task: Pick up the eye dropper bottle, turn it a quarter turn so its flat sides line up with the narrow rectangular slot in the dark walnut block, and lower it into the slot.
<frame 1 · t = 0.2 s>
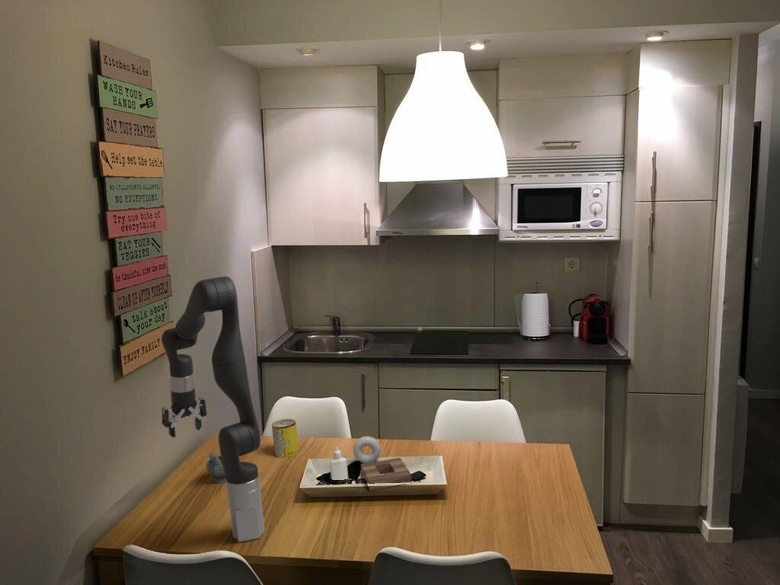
hand: (185, 432, 220), 22 cm above the table, tool pointing down, fingers open, 8 cm apart
beverage can: (287, 453, 255), on the table
donut: (368, 463, 240), on the table
eye dropper bottle: (340, 482, 227), on the table
walnut socket block: (385, 478, 226), on the table
mortar and pestle: (221, 480, 236), on the table
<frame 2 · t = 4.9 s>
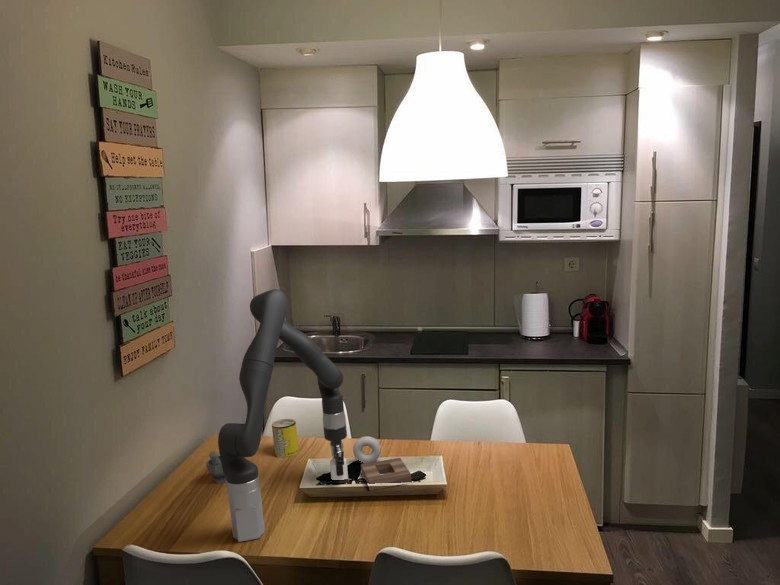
hand: (339, 472, 226), 3 cm above the table, tool pointing down, fingers closed on eye dropper bottle, 3 cm apart
eye dropper bottle: (340, 482, 227), on the table, touching gripper
everything else where it was.
when the fingers open (4 cm above the table, at t = 10.8 s): eye dropper bottle drops 1 cm, resting in walnut socket block.
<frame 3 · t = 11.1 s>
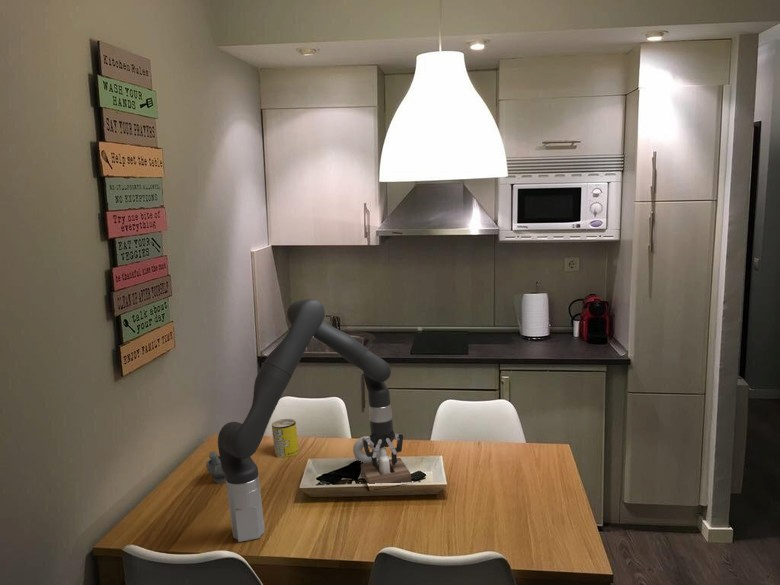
hand: (384, 465, 226), 5 cm above the table, tool pointing down, fingers open, 5 cm apart
eye dropper bottle: (385, 479, 226), resting in walnut socket block
everything else where it was.
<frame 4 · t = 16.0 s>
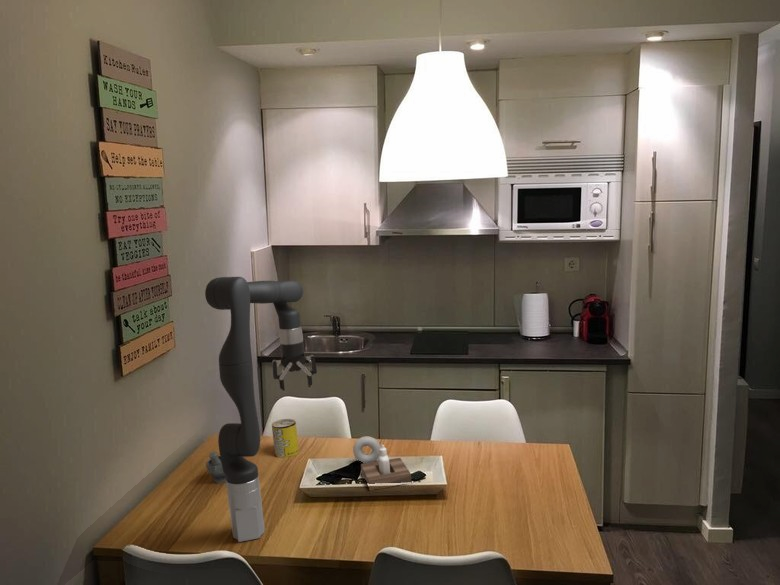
hand: (296, 388, 223), 33 cm above the table, tool pointing down, fingers open, 8 cm apart
nothing on the table moved.
at the end: eye dropper bottle 0.2 cm off-centre on the walnut socket block, point 0.0 cm above the walnut socket block's base; eye dropper bottle tilted 0°; the gripper is holding nothing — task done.
